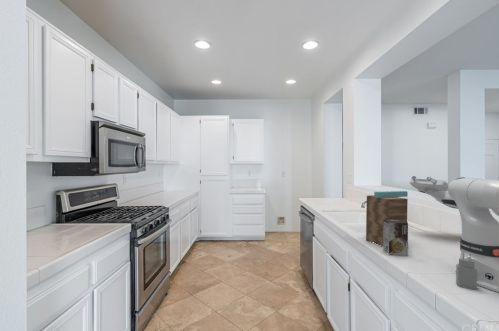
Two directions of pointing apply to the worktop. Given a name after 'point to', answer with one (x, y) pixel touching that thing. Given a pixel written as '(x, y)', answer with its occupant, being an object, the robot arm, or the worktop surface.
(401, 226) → the coffee box
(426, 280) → the worktop surface
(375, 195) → the teal bar
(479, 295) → the worktop surface
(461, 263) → the power adapter
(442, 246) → the worktop surface
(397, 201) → the walnut stand
